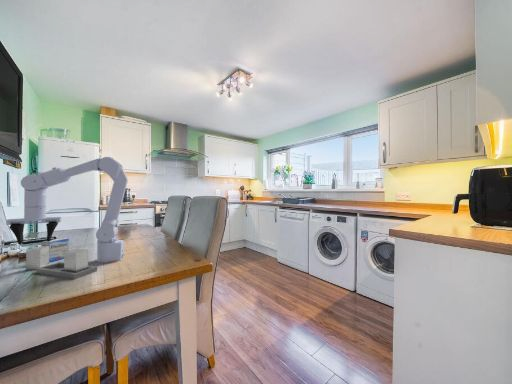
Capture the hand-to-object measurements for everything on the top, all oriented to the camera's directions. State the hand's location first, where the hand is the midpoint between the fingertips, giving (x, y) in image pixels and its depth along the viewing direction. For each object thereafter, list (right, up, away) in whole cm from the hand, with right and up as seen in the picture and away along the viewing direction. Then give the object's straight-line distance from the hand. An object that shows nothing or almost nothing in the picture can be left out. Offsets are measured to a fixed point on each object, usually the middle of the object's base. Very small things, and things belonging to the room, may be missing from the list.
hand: (35, 242), depth 80 cm
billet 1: (+1, -10, 0) cm, 10 cm away
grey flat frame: (+17, -10, -5) cm, 20 cm away
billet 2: (+21, -9, -6) cm, 24 cm away
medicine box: (-3, -10, +11) cm, 16 cm away
